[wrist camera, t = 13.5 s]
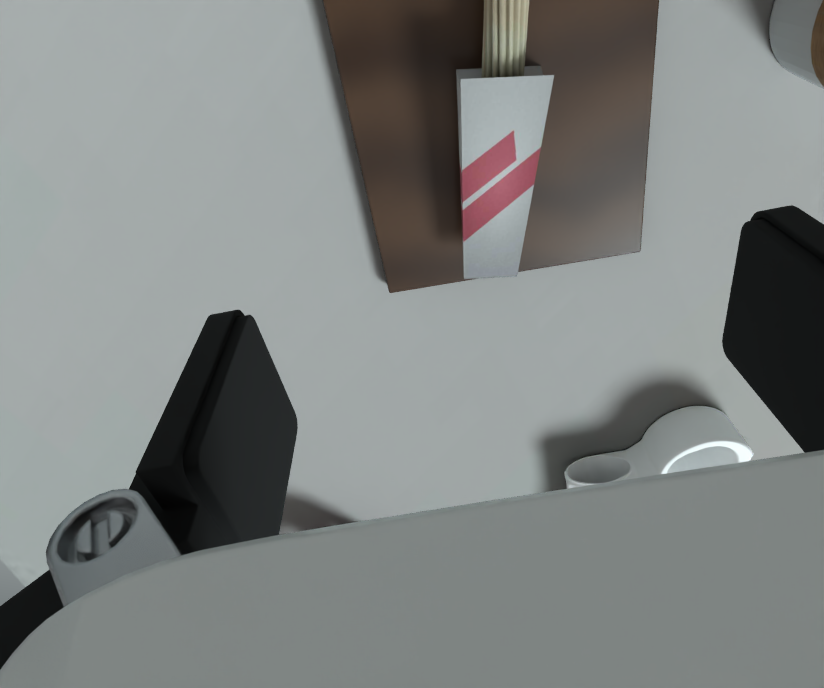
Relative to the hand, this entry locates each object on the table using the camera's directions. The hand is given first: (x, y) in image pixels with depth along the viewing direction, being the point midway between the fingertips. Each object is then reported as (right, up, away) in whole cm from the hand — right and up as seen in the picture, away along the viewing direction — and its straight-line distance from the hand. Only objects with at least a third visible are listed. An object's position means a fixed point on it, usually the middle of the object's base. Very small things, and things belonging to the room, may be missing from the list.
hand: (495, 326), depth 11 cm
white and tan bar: (+2, +12, +14) cm, 19 cm away
